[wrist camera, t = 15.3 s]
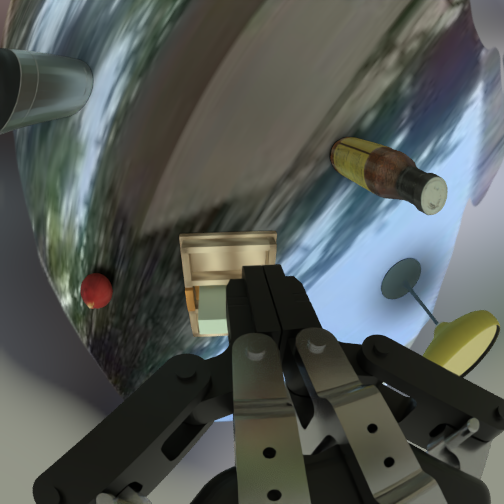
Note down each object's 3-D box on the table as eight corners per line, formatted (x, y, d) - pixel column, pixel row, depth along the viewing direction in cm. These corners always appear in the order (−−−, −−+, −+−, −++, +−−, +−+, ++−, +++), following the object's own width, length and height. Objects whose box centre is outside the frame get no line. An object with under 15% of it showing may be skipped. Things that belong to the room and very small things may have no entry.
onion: (92, 289, 45) (79, 318, 38) (85, 264, 42) (68, 291, 35) (119, 290, 46) (108, 321, 39) (113, 264, 43) (99, 293, 36)
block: (200, 296, 47) (199, 334, 39) (199, 282, 45) (198, 320, 38) (258, 293, 48) (266, 330, 40) (259, 280, 46) (268, 316, 39)
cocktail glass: (426, 294, 58) (480, 366, 36) (365, 320, 58) (413, 408, 37) (435, 233, 48) (513, 306, 27) (366, 258, 49) (439, 357, 28)
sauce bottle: (344, 181, 41) (422, 242, 24) (320, 154, 38) (397, 201, 21) (371, 155, 39) (460, 200, 22) (349, 125, 36) (441, 155, 19)
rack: (191, 325, 52) (191, 341, 48) (179, 233, 42) (176, 247, 38) (267, 321, 54) (271, 337, 50) (275, 230, 44) (281, 244, 40)
